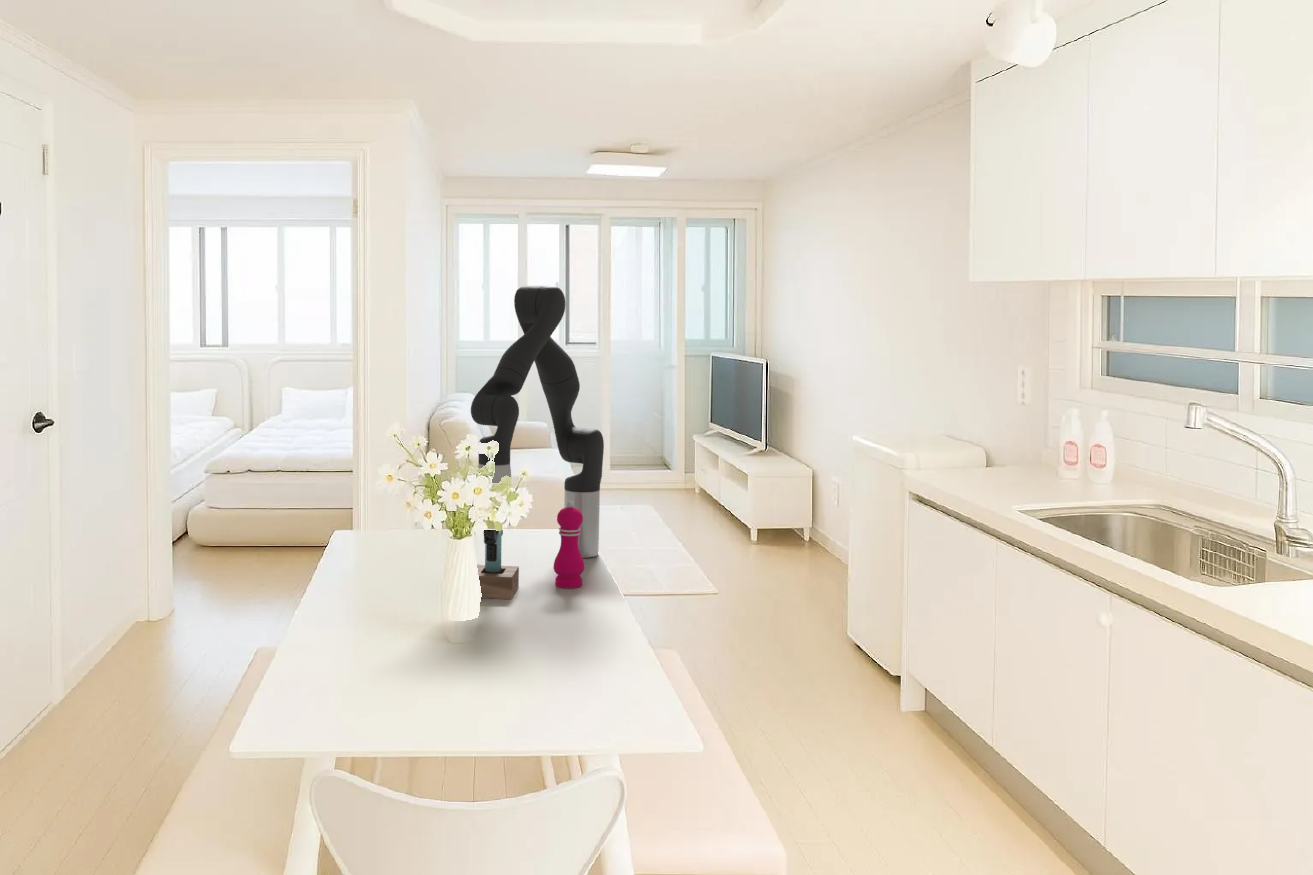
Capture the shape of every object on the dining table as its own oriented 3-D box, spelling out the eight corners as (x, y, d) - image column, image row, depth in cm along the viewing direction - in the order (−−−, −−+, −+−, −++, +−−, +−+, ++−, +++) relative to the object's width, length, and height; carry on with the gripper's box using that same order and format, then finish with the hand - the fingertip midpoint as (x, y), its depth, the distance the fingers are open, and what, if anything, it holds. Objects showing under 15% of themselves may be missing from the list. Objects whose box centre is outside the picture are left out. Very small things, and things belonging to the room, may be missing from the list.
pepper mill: (586, 582, 259) (588, 498, 257) (581, 589, 252) (583, 504, 249) (556, 580, 260) (557, 497, 257) (550, 588, 253) (551, 502, 250)
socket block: (475, 585, 253) (475, 564, 252) (518, 587, 252) (518, 566, 252) (466, 597, 243) (466, 575, 242) (511, 599, 242) (511, 577, 242)
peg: (486, 568, 249) (487, 524, 248) (502, 568, 249) (502, 525, 247) (483, 571, 245) (484, 528, 244) (499, 572, 245) (500, 528, 244)
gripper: (483, 477, 252) (482, 551, 254) (471, 488, 238) (470, 565, 240) (515, 479, 251) (514, 552, 254) (505, 489, 237) (504, 566, 239)
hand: (493, 558), depth 247 cm, fingers closed on peg, 3 cm apart
